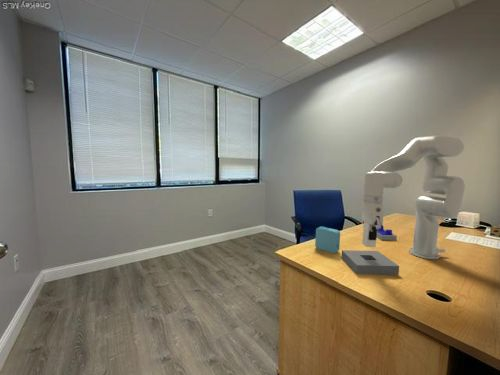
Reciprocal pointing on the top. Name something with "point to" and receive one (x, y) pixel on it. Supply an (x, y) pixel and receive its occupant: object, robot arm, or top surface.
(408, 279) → the top surface
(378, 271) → the socket plate
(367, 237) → the plug
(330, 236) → the data package
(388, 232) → the cable clip
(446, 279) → the top surface
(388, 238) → the desk tray
